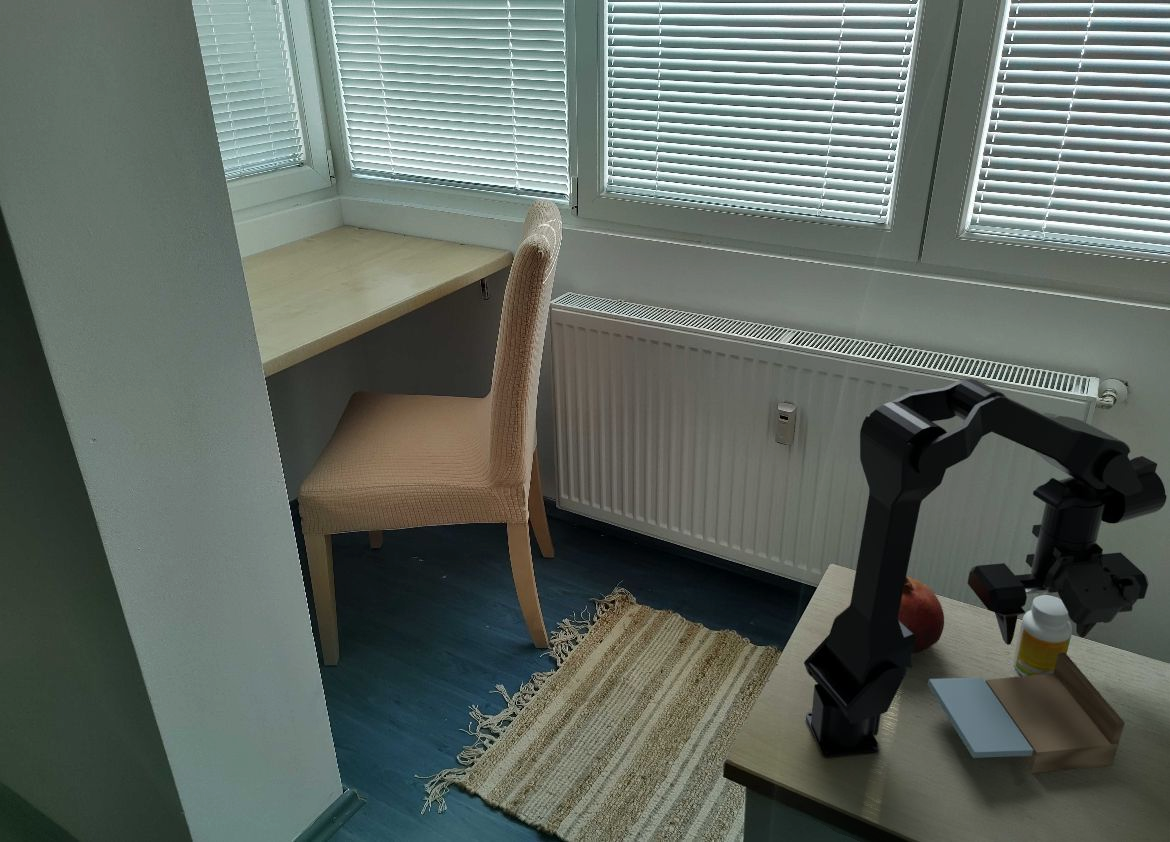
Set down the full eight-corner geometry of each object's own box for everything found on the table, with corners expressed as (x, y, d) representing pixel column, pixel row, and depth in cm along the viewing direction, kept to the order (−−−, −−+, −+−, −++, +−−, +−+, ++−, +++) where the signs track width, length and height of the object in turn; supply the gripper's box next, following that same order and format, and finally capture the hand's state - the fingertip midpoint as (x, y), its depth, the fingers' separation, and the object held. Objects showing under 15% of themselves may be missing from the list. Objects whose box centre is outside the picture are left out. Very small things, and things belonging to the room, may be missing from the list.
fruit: (841, 651, 115) (847, 587, 110) (866, 608, 122) (873, 547, 118) (927, 681, 109) (938, 615, 105) (947, 634, 117) (958, 571, 112)
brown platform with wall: (1031, 773, 97) (1042, 731, 94) (981, 699, 106) (989, 659, 104) (1112, 764, 97) (1124, 722, 94) (1055, 691, 107) (1065, 652, 104)
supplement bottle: (1066, 686, 108) (1083, 622, 103) (1018, 681, 109) (1032, 617, 104) (1055, 656, 112) (1070, 593, 108) (1008, 652, 113) (1022, 589, 109)
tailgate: (1030, 757, 95) (972, 759, 95) (980, 684, 105) (927, 686, 105) (1033, 750, 95) (974, 752, 94) (982, 677, 105) (929, 678, 104)
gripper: (1027, 579, 94) (1002, 694, 101) (1198, 563, 95) (1162, 677, 102) (975, 521, 104) (956, 629, 111) (1130, 508, 105) (1102, 615, 112)
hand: (1043, 638), depth 108 cm, fingers open, 9 cm apart
